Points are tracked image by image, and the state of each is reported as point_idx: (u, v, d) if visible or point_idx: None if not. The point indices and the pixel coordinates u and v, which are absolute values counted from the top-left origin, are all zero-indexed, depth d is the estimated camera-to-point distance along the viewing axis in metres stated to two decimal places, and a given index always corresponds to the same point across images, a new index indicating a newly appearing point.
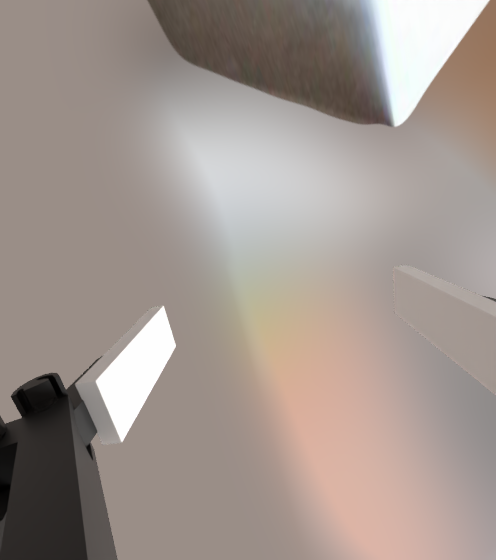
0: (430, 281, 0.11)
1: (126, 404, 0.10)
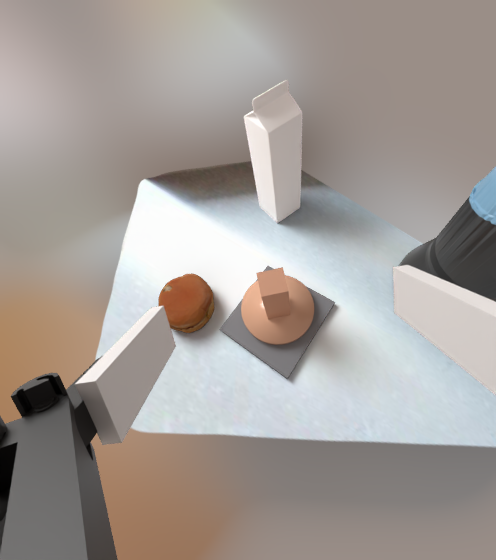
0: (430, 281, 0.11)
1: (126, 404, 0.10)
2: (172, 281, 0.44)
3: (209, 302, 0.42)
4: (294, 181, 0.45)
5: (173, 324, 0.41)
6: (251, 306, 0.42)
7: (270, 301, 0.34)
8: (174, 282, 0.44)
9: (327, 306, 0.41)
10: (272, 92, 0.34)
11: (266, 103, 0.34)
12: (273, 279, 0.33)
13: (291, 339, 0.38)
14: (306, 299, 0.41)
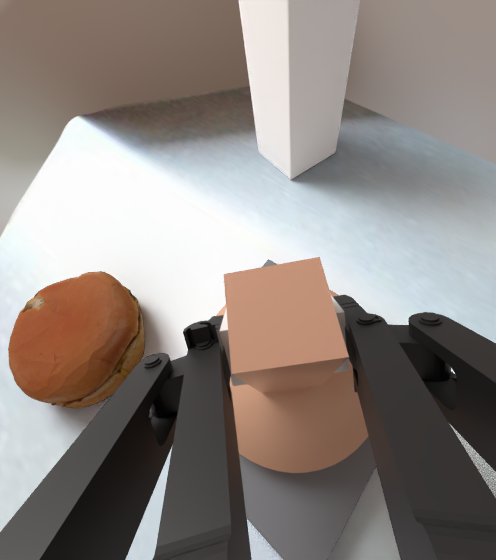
0: None
1: None
2: (50, 287, 0.20)
3: (121, 344, 0.17)
4: (335, 74, 0.20)
5: (28, 394, 0.17)
6: None
7: (270, 377, 0.09)
8: (53, 290, 0.19)
9: None
10: None
11: None
12: (284, 301, 0.09)
13: (326, 463, 0.14)
14: None
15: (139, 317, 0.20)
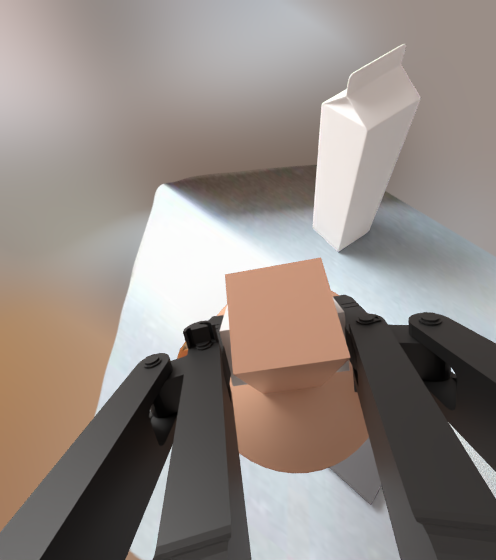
0: None
1: None
2: None
3: None
4: (374, 199, 0.32)
5: None
6: None
7: (271, 378, 0.09)
8: None
9: None
10: (379, 63, 0.21)
11: (367, 82, 0.21)
12: (286, 301, 0.09)
13: (327, 463, 0.14)
14: None
15: None
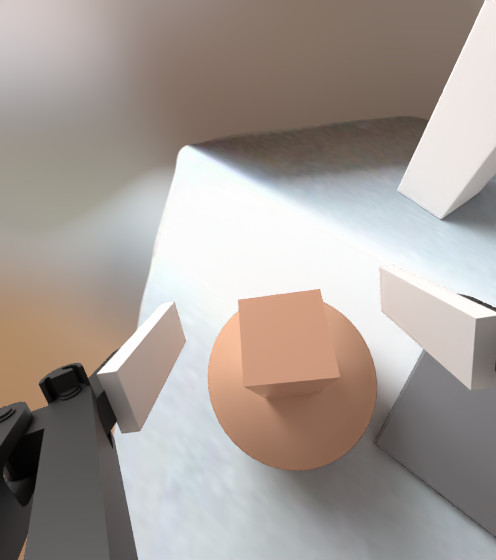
0: (412, 280, 0.12)
1: (143, 395, 0.10)
2: None
3: None
4: None
5: None
6: (231, 361, 0.19)
7: (274, 388, 0.11)
8: None
9: None
10: None
11: None
12: (289, 326, 0.10)
13: (320, 462, 0.15)
14: (357, 358, 0.18)
15: None
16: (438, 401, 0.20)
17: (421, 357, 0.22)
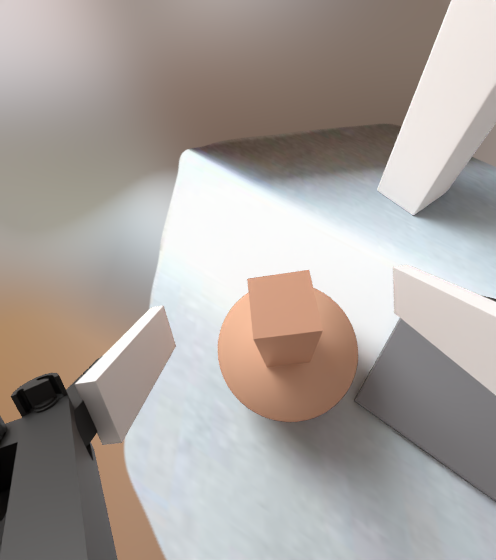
0: (430, 281, 0.11)
1: (126, 404, 0.10)
2: None
3: None
4: (477, 142, 0.26)
5: None
6: (237, 338, 0.22)
7: (275, 346, 0.15)
8: None
9: None
10: None
11: None
12: (286, 297, 0.14)
13: (311, 415, 0.19)
14: (342, 333, 0.21)
15: None
16: (406, 365, 0.24)
17: (394, 330, 0.26)
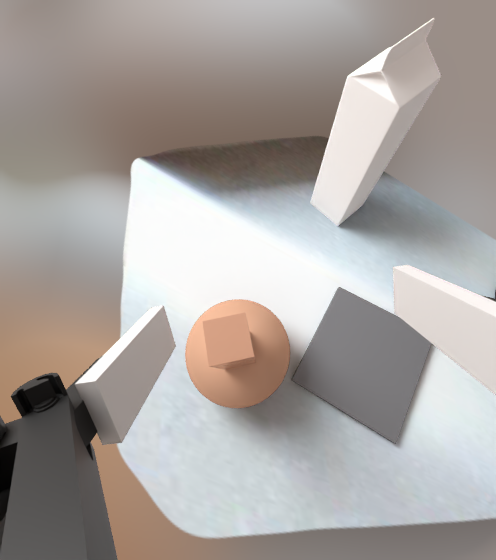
0: (430, 281, 0.11)
1: (126, 404, 0.10)
2: None
3: None
4: (378, 174, 0.33)
5: None
6: (200, 348, 0.29)
7: (225, 364, 0.21)
8: None
9: (426, 341, 0.32)
10: (412, 38, 0.21)
11: (399, 57, 0.21)
12: (229, 334, 0.20)
13: (257, 401, 0.26)
14: (279, 338, 0.29)
15: None
16: (327, 350, 0.33)
17: None
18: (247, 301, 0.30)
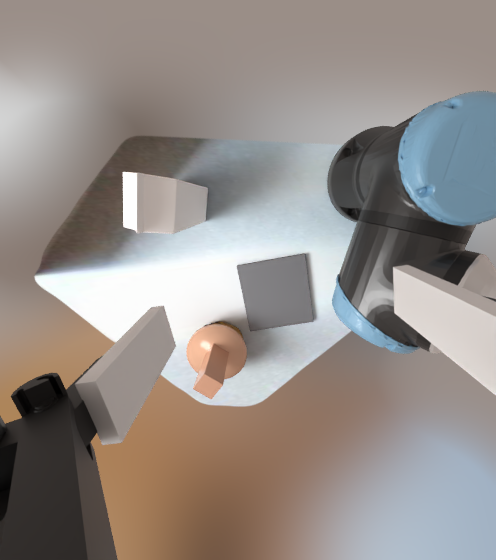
0: (430, 281, 0.11)
1: (126, 404, 0.10)
2: None
3: None
4: (198, 195, 0.39)
5: None
6: (201, 366, 0.50)
7: None
8: None
9: (302, 261, 0.48)
10: (138, 200, 0.26)
11: (142, 212, 0.27)
12: (207, 384, 0.41)
13: (243, 364, 0.50)
14: (229, 335, 0.48)
15: (227, 324, 0.52)
16: (256, 305, 0.51)
17: (243, 295, 0.51)
18: (199, 332, 0.48)
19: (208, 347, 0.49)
